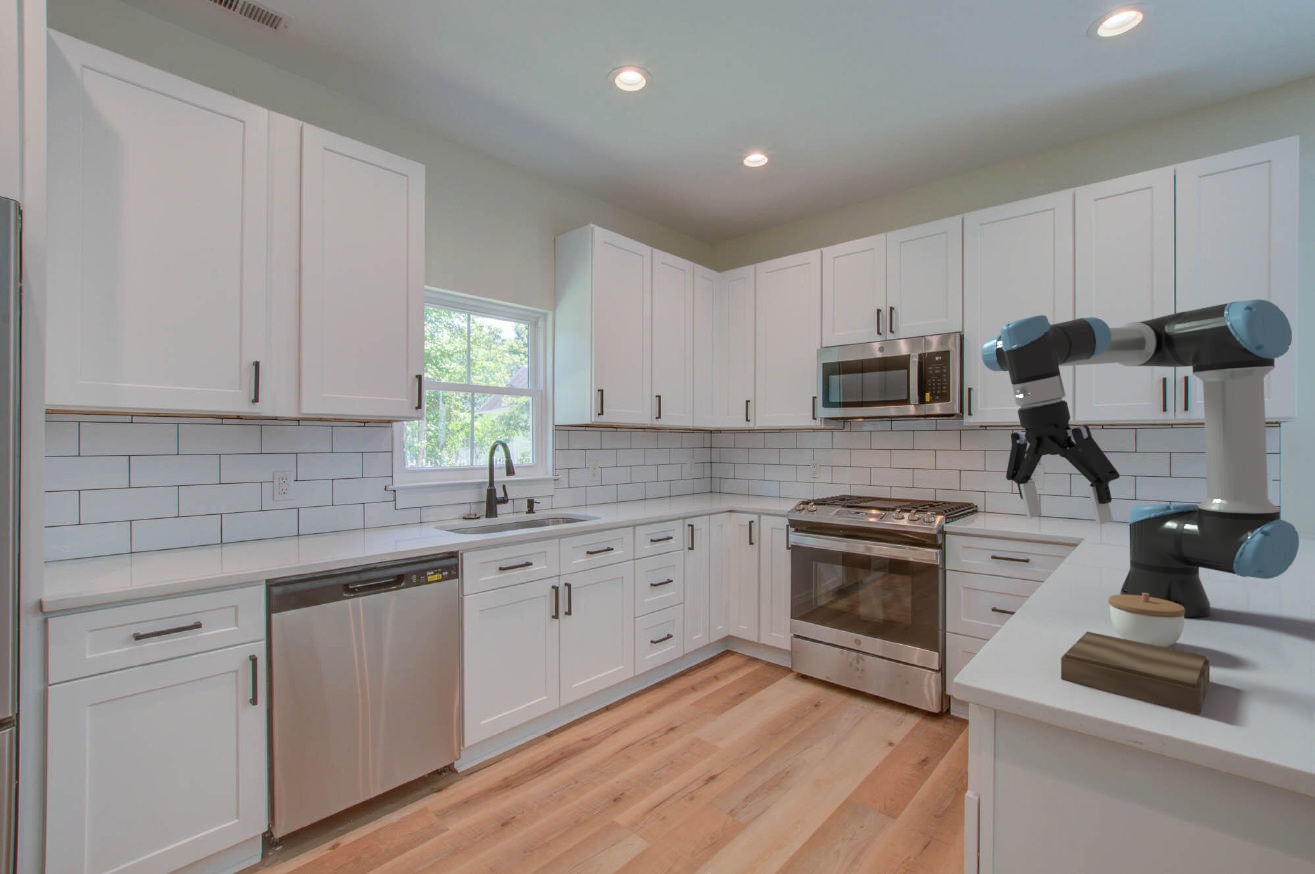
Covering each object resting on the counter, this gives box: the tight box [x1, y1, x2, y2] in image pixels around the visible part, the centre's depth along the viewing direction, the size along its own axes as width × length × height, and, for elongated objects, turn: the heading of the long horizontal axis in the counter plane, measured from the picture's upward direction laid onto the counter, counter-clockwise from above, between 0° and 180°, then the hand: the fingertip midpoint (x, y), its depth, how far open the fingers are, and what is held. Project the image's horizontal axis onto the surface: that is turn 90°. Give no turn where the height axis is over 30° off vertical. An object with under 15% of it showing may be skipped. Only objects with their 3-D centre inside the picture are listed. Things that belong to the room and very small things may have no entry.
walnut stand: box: [1060, 631, 1211, 715], centre depth 91 cm, size 16×16×4 cm
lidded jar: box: [1108, 593, 1185, 648], centre depth 106 cm, size 11×11×9 cm
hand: (1067, 519), depth 103 cm, fingers open, 13 cm apart
